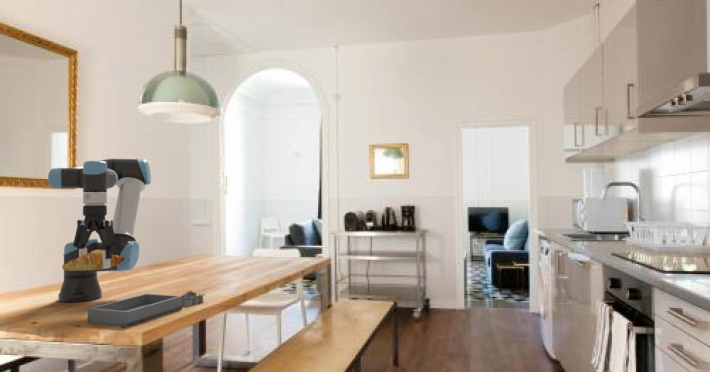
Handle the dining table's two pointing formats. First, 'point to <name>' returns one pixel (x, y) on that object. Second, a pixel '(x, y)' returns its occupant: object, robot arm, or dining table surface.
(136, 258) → the robot arm
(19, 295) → the dining table surface
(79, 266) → the croissant
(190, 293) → the egg carton
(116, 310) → the grey rectangular open tray
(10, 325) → the dining table surface
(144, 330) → the dining table surface
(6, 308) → the dining table surface
